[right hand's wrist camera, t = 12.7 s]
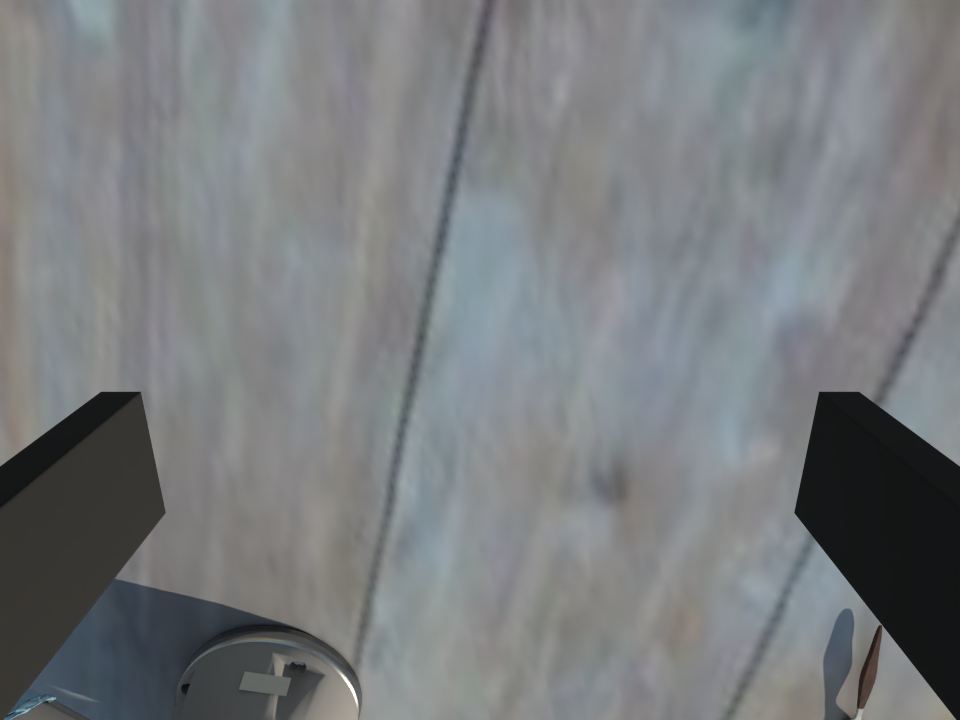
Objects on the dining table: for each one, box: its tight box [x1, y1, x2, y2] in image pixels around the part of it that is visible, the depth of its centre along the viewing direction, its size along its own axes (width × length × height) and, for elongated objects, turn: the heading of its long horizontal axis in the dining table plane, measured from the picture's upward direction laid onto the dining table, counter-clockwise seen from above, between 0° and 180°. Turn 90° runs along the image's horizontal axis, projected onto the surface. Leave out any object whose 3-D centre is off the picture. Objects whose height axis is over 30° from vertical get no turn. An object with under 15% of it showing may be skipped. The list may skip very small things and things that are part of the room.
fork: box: [850, 625, 882, 720], centre depth 55 cm, size 3×16×2 cm, turn 2°
